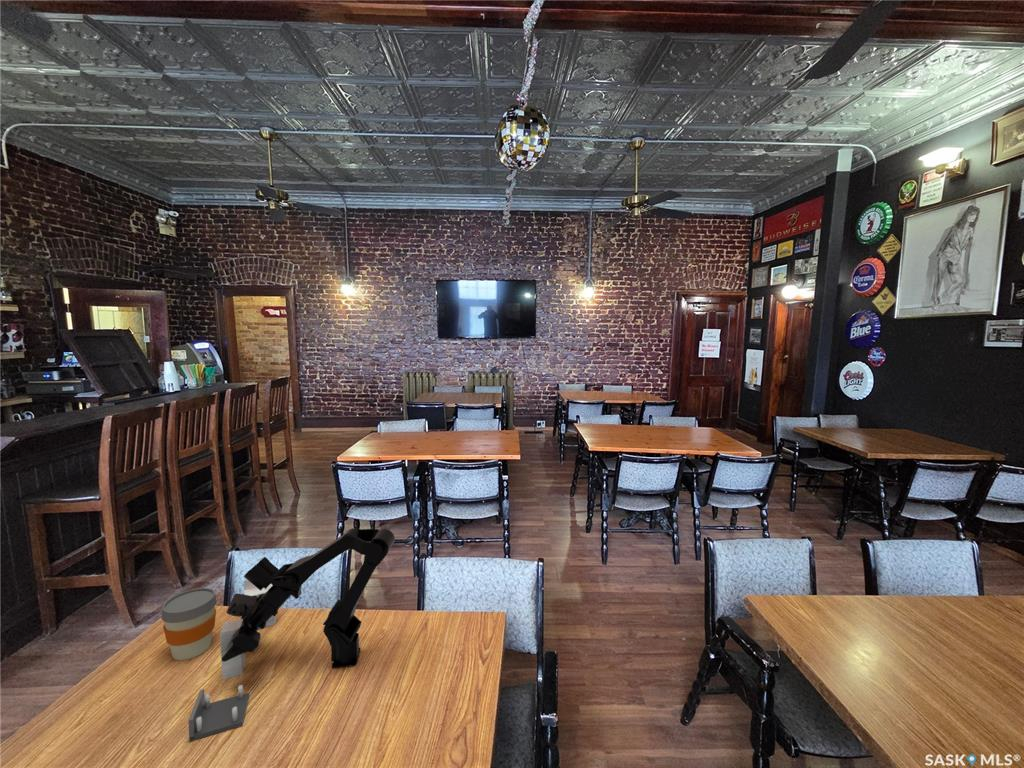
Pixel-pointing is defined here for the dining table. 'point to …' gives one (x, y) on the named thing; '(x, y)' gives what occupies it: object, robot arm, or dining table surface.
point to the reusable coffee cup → (189, 622)
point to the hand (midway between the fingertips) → (226, 648)
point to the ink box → (252, 591)
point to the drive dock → (216, 714)
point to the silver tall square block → (235, 664)
